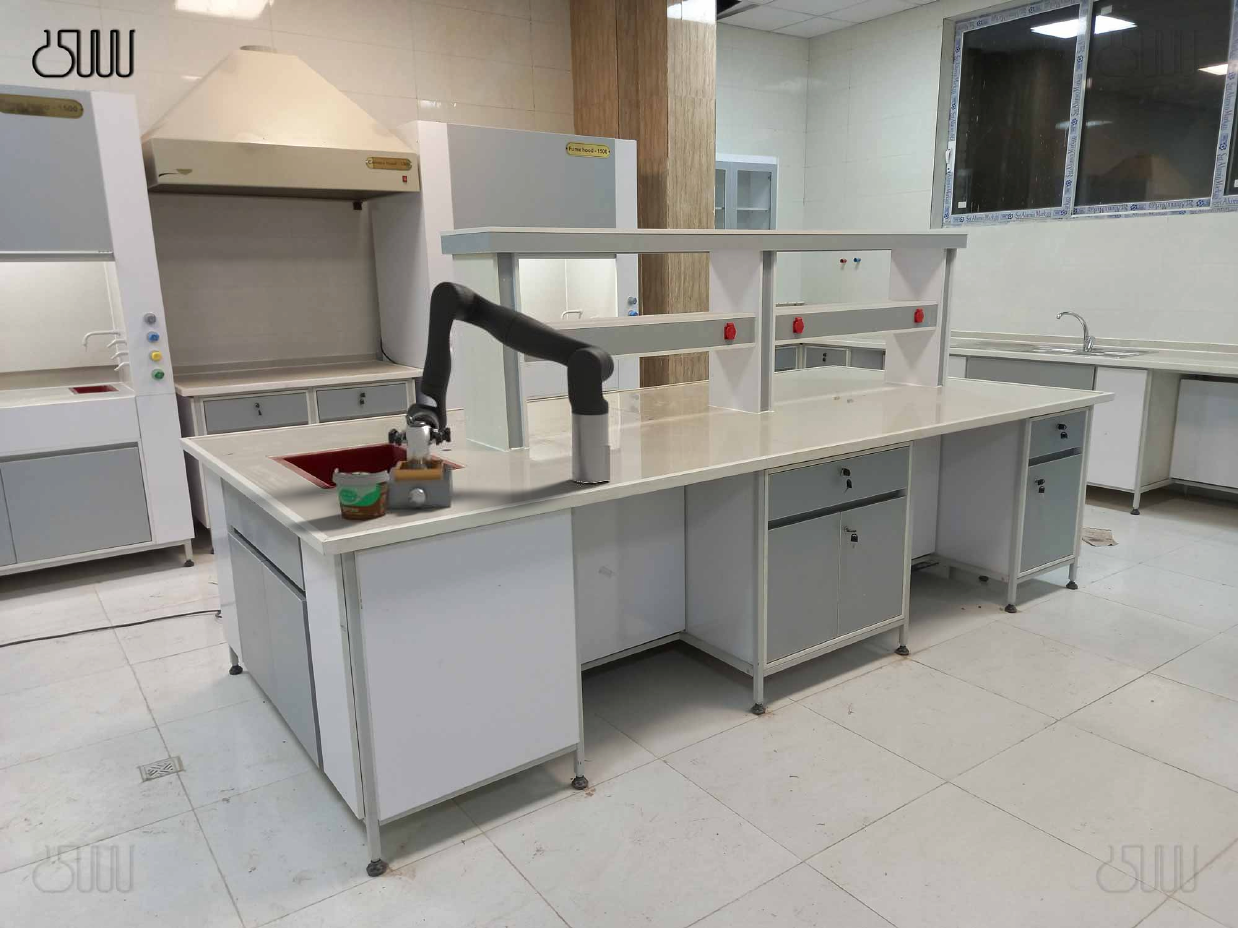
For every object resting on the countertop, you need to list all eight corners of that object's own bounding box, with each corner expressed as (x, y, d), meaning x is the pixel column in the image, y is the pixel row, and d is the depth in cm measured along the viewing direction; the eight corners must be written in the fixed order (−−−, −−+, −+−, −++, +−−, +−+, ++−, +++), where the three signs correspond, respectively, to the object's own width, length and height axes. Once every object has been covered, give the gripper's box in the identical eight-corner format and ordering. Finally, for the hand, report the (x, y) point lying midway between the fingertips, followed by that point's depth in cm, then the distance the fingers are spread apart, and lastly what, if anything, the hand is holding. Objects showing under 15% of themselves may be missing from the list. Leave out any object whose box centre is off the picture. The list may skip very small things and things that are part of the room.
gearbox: (452, 489, 206) (451, 457, 204) (449, 510, 188) (448, 475, 186) (393, 491, 204) (391, 459, 202) (384, 513, 186) (382, 477, 184)
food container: (324, 520, 180) (320, 474, 178) (338, 512, 186) (335, 467, 184) (379, 523, 178) (376, 476, 176) (391, 515, 184) (389, 470, 182)
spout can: (431, 470, 199) (429, 411, 196) (430, 475, 194) (428, 415, 191) (408, 471, 198) (405, 412, 195) (406, 476, 193) (403, 415, 190)
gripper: (392, 414, 208) (385, 426, 193) (451, 413, 211) (449, 424, 195) (393, 444, 210) (386, 458, 194) (452, 443, 212) (450, 456, 197)
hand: (418, 441), depth 195 cm, fingers open, 8 cm apart
